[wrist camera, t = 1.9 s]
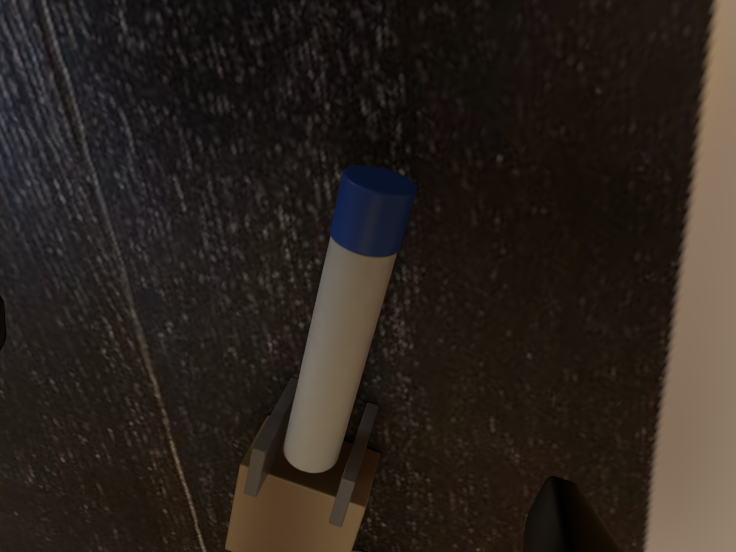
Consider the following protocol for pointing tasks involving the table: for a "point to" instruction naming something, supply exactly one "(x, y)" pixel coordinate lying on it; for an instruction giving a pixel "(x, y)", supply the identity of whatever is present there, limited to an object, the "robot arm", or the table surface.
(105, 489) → the table surface
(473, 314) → the table surface
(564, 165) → the table surface
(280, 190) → the table surface
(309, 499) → the tan block with prongs
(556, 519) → the robot arm
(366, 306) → the marker
